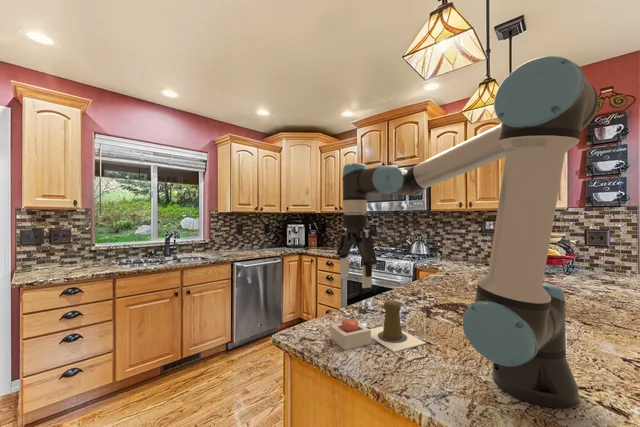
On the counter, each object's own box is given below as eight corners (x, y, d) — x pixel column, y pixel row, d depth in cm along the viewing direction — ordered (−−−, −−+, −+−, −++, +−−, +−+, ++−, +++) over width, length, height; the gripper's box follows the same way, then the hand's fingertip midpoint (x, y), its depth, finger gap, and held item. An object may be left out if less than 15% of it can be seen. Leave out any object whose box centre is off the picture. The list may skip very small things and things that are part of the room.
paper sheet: (426, 343, 84) (426, 342, 84) (394, 352, 79) (394, 351, 79) (391, 325, 99) (391, 324, 99) (362, 331, 94) (362, 330, 94)
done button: (361, 333, 86) (361, 323, 86) (347, 336, 84) (347, 326, 84) (352, 327, 90) (352, 317, 90) (339, 330, 88) (338, 320, 88)
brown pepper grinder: (403, 341, 85) (402, 304, 85) (382, 339, 86) (382, 303, 87) (401, 333, 91) (401, 298, 91) (382, 331, 92) (382, 297, 93)
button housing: (370, 343, 85) (370, 330, 85) (344, 350, 81) (344, 335, 81) (354, 332, 93) (354, 320, 93) (330, 338, 89) (330, 325, 89)
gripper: (389, 214, 78) (389, 290, 78) (346, 214, 101) (346, 273, 101) (366, 214, 75) (366, 294, 75) (327, 214, 98) (327, 275, 98)
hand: (354, 282), depth 88 cm, fingers open, 13 cm apart
